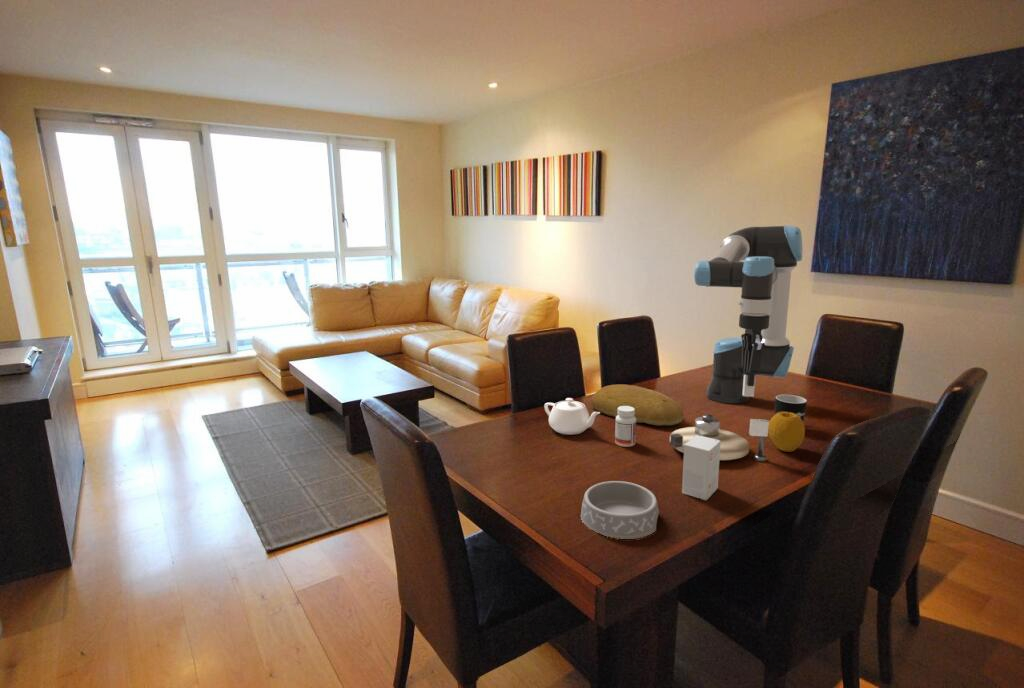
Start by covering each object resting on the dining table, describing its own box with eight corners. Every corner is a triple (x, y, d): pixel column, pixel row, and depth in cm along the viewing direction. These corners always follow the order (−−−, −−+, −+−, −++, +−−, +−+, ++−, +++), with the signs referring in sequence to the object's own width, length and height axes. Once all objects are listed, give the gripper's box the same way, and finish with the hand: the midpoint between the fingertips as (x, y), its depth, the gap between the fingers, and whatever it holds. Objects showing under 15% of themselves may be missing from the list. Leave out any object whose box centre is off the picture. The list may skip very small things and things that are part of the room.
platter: (652, 435, 160) (652, 423, 159) (715, 426, 166) (716, 414, 166) (696, 465, 139) (696, 451, 139) (766, 453, 146) (768, 439, 145)
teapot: (532, 428, 173) (531, 397, 171) (556, 417, 183) (556, 388, 181) (587, 445, 159) (588, 411, 156) (611, 432, 169) (611, 400, 166)
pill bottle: (626, 438, 163) (627, 403, 161) (639, 445, 158) (640, 409, 156) (610, 441, 161) (611, 407, 158) (623, 448, 155) (624, 413, 153)
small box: (693, 481, 135) (696, 434, 132) (718, 488, 131) (721, 440, 128) (680, 493, 129) (683, 444, 126) (706, 501, 125) (709, 450, 122)
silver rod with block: (746, 456, 148) (749, 418, 146) (763, 457, 148) (767, 418, 145) (749, 461, 146) (752, 421, 143) (767, 462, 145) (770, 422, 142)
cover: (689, 430, 161) (690, 413, 160) (709, 427, 163) (710, 411, 161) (704, 438, 154) (705, 421, 153) (723, 435, 156) (725, 418, 155)
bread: (669, 434, 166) (671, 404, 164) (581, 410, 190) (581, 384, 188) (694, 419, 179) (696, 391, 177) (608, 398, 203) (609, 374, 201)
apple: (758, 446, 155) (761, 409, 153) (781, 441, 159) (785, 404, 157) (786, 459, 147) (790, 419, 144) (810, 452, 150) (815, 414, 148)
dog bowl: (573, 532, 113) (573, 510, 112) (591, 493, 130) (591, 473, 129) (654, 547, 107) (655, 524, 106) (661, 504, 124) (662, 483, 123)
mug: (794, 435, 163) (798, 405, 161) (767, 427, 170) (769, 398, 168) (813, 427, 169) (817, 397, 167) (786, 419, 177) (789, 391, 175)
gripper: (733, 310, 149) (728, 388, 154) (747, 317, 136) (740, 402, 141) (761, 310, 148) (755, 389, 153) (777, 317, 135) (769, 403, 140)
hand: (748, 395), depth 147 cm, fingers closed
